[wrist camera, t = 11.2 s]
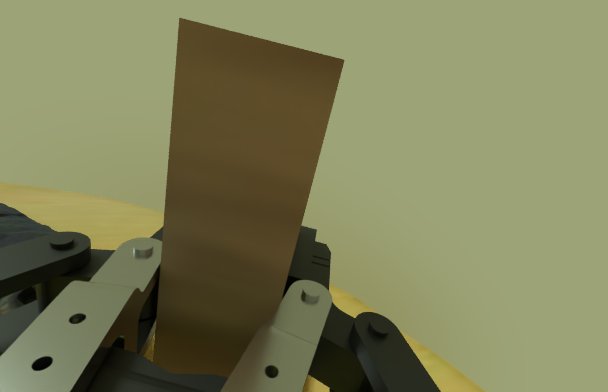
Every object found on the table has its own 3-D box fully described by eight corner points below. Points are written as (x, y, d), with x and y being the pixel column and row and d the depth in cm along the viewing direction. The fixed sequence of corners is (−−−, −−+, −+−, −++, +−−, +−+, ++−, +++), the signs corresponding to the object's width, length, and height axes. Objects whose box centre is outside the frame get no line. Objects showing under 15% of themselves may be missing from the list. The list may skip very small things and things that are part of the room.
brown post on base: (247, 621, 9) (470, 77, 3) (47, 565, 9) (-45, -54, 4) (292, 359, 17) (377, 79, 12) (188, 331, 17) (225, 40, 12)
